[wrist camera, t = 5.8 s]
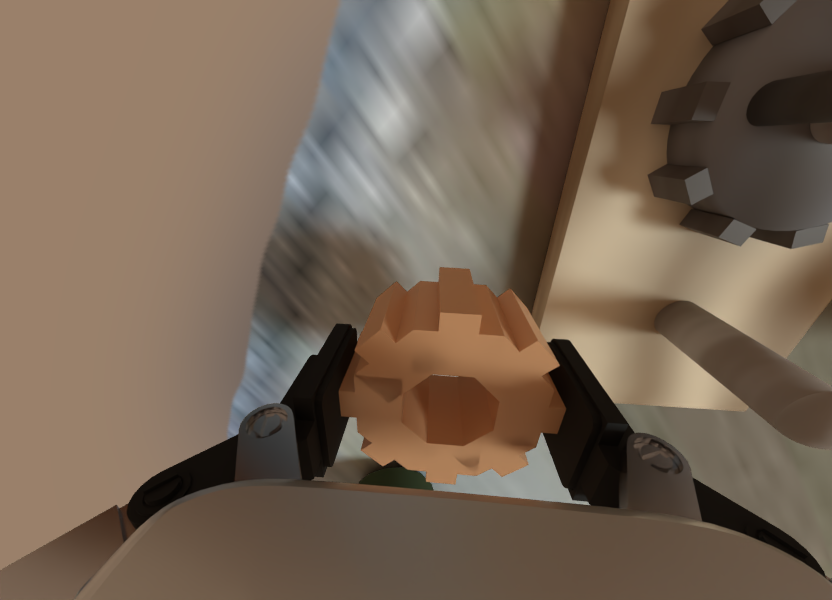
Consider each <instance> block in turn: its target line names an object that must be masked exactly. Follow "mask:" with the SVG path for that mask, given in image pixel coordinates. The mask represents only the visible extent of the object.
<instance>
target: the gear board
mask: <svg viewBox="0 0 832 600" xmlns="http://www.w3.org/2000/svg"><path fill="white" fill-rule="evenodd" d="M831 300H832V0H610V4H609V8H608V12H607V16H606V20H605V24H604V28H603V32H602V36H601V40H600V44H599V48H598V52H597V56H596V60H595V64H594V68H593V71H592V75H591V79H590V83H589V87H588V91H587V95H586V99H585V103H584V107H583V111H582V115H581V119H580V123H579V127H578V131H577V135H576V139H575V143H574V147H573V151H572V155H571V159H570V163H569V167H568V171H567V175H566V179H565V183H564V187H563V191H562V195H561V199H560V203H559V207H558V211H557V215H556V219H555V222H554V226H553V230H552V234H551V238H550V242H549V246H548V250H547V254H546V258H545V262H544V266H543V270H542V274H541V278H540V282H539V286H538V290H537V294H536V298H535V302H534V306H533V310H532V314H531V316H532V318H533V319H534V321H535V323H536V324H537V326H538V328H539V330H540V331H541V333H542V335H543V337H544V338H545V340H546V342H551V340H552V339H567V340H570V341H571V343H572V344H573V346H574V347H575V348H576V350H577V351H578V353H579V354H580V356H581V357H582V358H583V360H584V361H585V363H586V364H587V366H588V367H589V368H590V370H591V371H592V373H593V374H594V376H595V377H596V378H597V380H598V381H599V383H600V384H601V385H602V387H603V388H604V390H605V391H606V393H607V394H608V395H609V397H610V398H611V400H612V401H613V403H623V404H639V405H654V406H669V407H684V408H700V409H715V410H730V411H746V410H747V409H748V407H750V408H751V409H752V410H754V411H755V412H756V413H757V414H758V415H760V416H761V417H762V418H763V419H764V420H766V421H767V422H768V423H769V424H770V425H772V426H773V427H774V428H775V429H777V430H778V431H779V432H780V433H782V434H783V435H784V436H786V437H788V438H789V439H791V440H793V441H795V442H797V443H800V444H803V445H805V446H809V447H813V448H818V449H826V450H832V386H830V385H829V384H827V383H825V382H824V381H822V380H820V379H819V378H817V377H815V376H814V375H812V374H811V373H809V372H807V371H806V370H804V369H802V368H801V367H799V366H797V365H796V364H794V363H792V362H791V361H789V360H787V359H786V358H787V357H788V355H789V354H790V353H791V351H792V350H793V349H794V348H795V346H796V345H797V344H798V342H799V341H800V340H801V338H802V337H803V336H804V335H805V333H806V332H807V331H808V329H809V328H810V327H811V325H812V324H813V323H814V322H815V320H816V319H817V318H818V316H819V315H820V314H821V313H822V311H823V310H824V309H825V307H826V306H827V305H828V303H829V302H830V301H831Z"/></svg>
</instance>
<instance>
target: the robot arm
mask: <svg viewBox="0 0 832 600" xmlns="http://www.w3.org/2000/svg"><path fill="white" fill-rule="evenodd" d="M547 344H548V345H549V347H550V349H551V351H552V352H553V354H554V356H555V358H556V359H557V361H558V363H559V365H560V366H558V367H556V368H555V369H553V370H551V371H549V372H548V373H549V375H550V377H551V379H552V381H553V383H554V385H555V387H556V389H557V391H558V393H559V395H560V397H561V399H562V401H563V403H564V405H565V407H566V411H565V414H564V417H563V420H562V422H561V425H560V428H559V431H558V433H557V434H552V433H543V435H544V437H545V440H546V443H547V445H548V448H549V451H550V454H551V456H552V459H553V462H554V464H555V467H556V470H557V472H558V475H559V478H560V480H561V483H562V485H563V486H564V487H565V488H568V490H569V492H570V495H571V498H572V500H577V501H588V502H589V504H590V505H581V504H571V503H561V502H550V501H540V500H530V499H520V498H509V497H498V496H488V495H477V494H466V493H455V492H444V491H433V490H422V489H410V488H399V487H387V486H376V485H364V484H352V483H340V482H326V481H311V480H312V479H314V477H324V475H325V472H326V469H327V467H332V466H333V464H334V461H335V458H336V455H337V452H338V449H339V446H340V443H341V440H342V437H343V434H344V431H345V428H346V425H347V422H348V419H349V417H344V416H341V410H340V400H339V389H340V387H341V384H342V382H343V379H344V377H345V375H346V372H347V370H348V367H349V365H350V363H351V360H352V358H353V355H354V353H355V351H354V350H355V348H356V345H357V331H356V328H352V326H351V324H336V325H335V327H334V328H333V330H332V332H331V333H330V335H329V337H328V338H327V340H326V342H325V343H324V345H323V347H322V348H321V350H320V352H319V353H318V355H311V356H310V357H309V358H308V360H307V362H306V363H305V365H304V366H303V368H302V369H301V371H300V373H299V374H298V376H297V377H296V379H295V381H294V382H293V384H292V385H291V387H290V388H289V390H288V392H287V393H286V395H285V396H284V398H283V400H282V401H281V403H280V404H279V403H273V404H267V405H264V406H261V407H258V408H257V409H255V410H253V411H252V412H250V413H249V414H248V415H247V416H246V417H245V418H244V419H243V421H242V422H241V424H240V428H239V434H238V435H236V436H234V437H232V438H230V439H228V440H226V441H224V442H222V443H220V444H217V445H216V446H213V447H211V448H209V449H207V450H205V451H203V452H201V453H199V454H197V455H195V456H193V457H191V458H189V459H187V460H185V461H182V462H181V463H178V464H176V465H174V466H172V467H170V468H168V469H166V470H164V471H162V472H160V473H158V474H157V475H155V476H153V477H152V478H150V479H149V480H148V481H147V482H145V483H144V484H143V485H142V486H141V487H140V488H139V489H138V490H137V491H136V492H135V494H134V495H133V496H132V498H131V500H130V502H129V503H128V504H126V505H125V506H123V507H121V508H119V507H118V506H117V505H115V506H113V507H111V508H110V509H108V510H106V511H104V512H103V513H101V514H99V515H97V516H95V517H94V518H92V519H90V520H89V521H86V522H85V523H83V524H81V525H80V526H78V527H76V528H74V529H72V530H71V531H69V532H67V533H65V534H63V535H62V536H60V537H58V538H57V539H55V540H53V541H51V542H49V543H47V544H46V545H44V546H42V547H40V548H39V549H37V550H35V551H33V552H31V553H30V554H28V555H26V556H24V557H23V558H21V559H19V560H17V561H16V562H14V563H12V564H10V565H8V566H7V567H5V568H3V569H2V570H0V600H832V578H831V579H830V578H828V577H827V576H825V573H824V571H823V570H822V568H821V567H820V565H819V564H818V562H817V561H816V560H815V558H814V557H813V556H812V555H811V554H810V553H809V552H808V551H807V550H806V549H805V548H804V547H803V546H802V545H800V544H799V543H798V542H797V541H796V540H795V539H793V538H792V537H791V536H789V535H788V534H786V533H785V532H783V531H782V530H780V529H779V528H777V527H775V526H774V525H772V524H770V523H769V522H767V521H765V520H763V519H762V518H760V517H758V516H757V515H755V514H753V513H752V512H750V511H748V510H747V509H745V508H743V507H741V506H740V505H738V504H736V503H735V502H733V501H731V500H730V499H728V498H726V497H725V496H723V495H721V494H720V493H718V492H716V491H714V490H713V489H711V488H709V487H708V486H706V485H704V484H703V483H701V482H699V481H698V480H696V479H694V478H692V473H691V468H690V466H689V464H688V461H687V460H686V459H685V458H684V456H683V455H682V454H681V453H680V452H679V451H678V450H677V449H676V448H675V447H673V446H672V445H670V444H669V443H667V442H666V441H664V440H662V439H660V438H658V437H656V436H653V435H650V434H646V433H634V431H633V430H632V429H631V427H630V426H629V424H628V423H627V421H626V420H625V418H624V417H623V415H622V414H621V413H620V411H619V410H618V408H617V407H616V405H615V404H614V403H613V401H612V400H611V398H610V397H609V395H608V394H607V393H606V391H605V390H604V388H603V387H602V385H601V384H600V383H599V381H598V380H597V378H596V377H595V376H594V374H593V373H592V371H591V370H590V368H589V367H588V366H587V364H586V363H585V361H584V360H583V358H582V357H581V356H580V354H579V353H578V351H577V350H576V348H575V347H574V346H573V344H572V343H571V341H570V340H567V339H552V340H551V342H547Z"/></svg>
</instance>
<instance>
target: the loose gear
mask: <svg viewBox="0 0 832 600" xmlns="http://www.w3.org/2000/svg"><path fill="white" fill-rule="evenodd" d="M354 351H355V353H354V355H353V358H352V360H351V363H350V365H349V367H348V370H347V372H346V375H345V377H344V379H343V382H342V384H341V387H340V389H339V400H340V410H341V416H344V417H357V429H358V433H360V434H361V435H362V436H364V440H363V444H362V448H361V451H363V452H364V453H365V454H367V455H368V456H369V457H371V458H372V459H373V460H375V461H376V462H378V463H379V464H380V465H382V466H384V465H386V464H388V463H390V462H391V461H393V460H395V461H397V462H398V463H399V464H401V465H402V466H403V467H405V468H406V469H407V470H416V471H426V482H434V483H445V484H456V477H457V474H461V475H472V476H477V475H479V474H481V473H483V472H485V471H487V470H489V469H493V470H494V471H496V472H497V473H498V474H499V475H500V476H502V477H503V476H505V475H507V474H510V473H512V472H514V471H516V470H518V469H520V468H523V467H525V466H527V465H528V461H527V458H526V455H525V452H527V451H529V450H531V449H533V448H535V447H536V446H537V443H538V440H539V437H540V434H541V433H552V434H557V433H558V431H559V428H560V425H561V422H562V420H563V417H564V414H565V411H566V407H565V405H564V403H563V401H562V399H561V397H560V395H559V393H558V391H557V389H556V387H555V385H554V383H553V381H552V379H551V377H550V375H549V373H548V372H549V371H551V370H553V369H555V368H556V367H558V366H560V365H559V363H558V361H557V359H556V358H555V356H554V354H553V352H552V351H551V349H550V347H549V345H548V344H547V342H546V340H545V338H544V337H543V335H542V333H541V331H540V330H539V328H538V326H537V324H536V323H535V321H534V319H533V318H532V316H531V314H530V312H529V311H528V309H527V307H526V306H525V305H524V304H523V303H522V301H521V300H520V299H519V298H518V297H517V296H516V294H515V293H514V292H513V291H512V290H511V289H508V290H507V291H506V292H504V293H503V294H501V295H500V296H499V297H496V296H495V295H494V294H493V292H492V291H491V290H490V289H489V288H488V287H487V286H486V285H477V284H473V280H472V277H471V273H470V269H461V268H444V267H440V269H439V282H428V281H420V282H418V283H417V284H416V285H415V286H414V287H412V288H411V289H410V290H409V291H408V292H407V291H406V290H405V289H404V288H403V287H402V286H401V285H400V284H399V283H398V282H397V281H396V282H395V283H394V284H392V285H391V286H390V287H389V288H388V289H387V290H385V291H384V292H383V293H382V294H381V295H380V296H378V297H377V298H376V301H375V303H374V305H373V308H372V310H371V313H370V315H369V317H368V320H367V322H366V324H365V327H364V329H363V331H362V332H361V334H360V337H359V339H358V341H357V345H356V348H355V350H354ZM432 374H435V375H432ZM438 375H449V376H438ZM451 376H458V377H451Z"/></svg>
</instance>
